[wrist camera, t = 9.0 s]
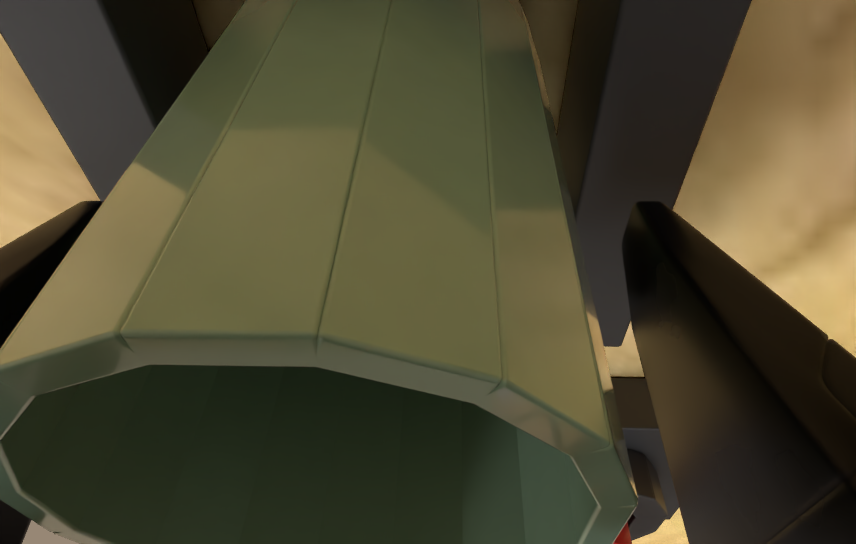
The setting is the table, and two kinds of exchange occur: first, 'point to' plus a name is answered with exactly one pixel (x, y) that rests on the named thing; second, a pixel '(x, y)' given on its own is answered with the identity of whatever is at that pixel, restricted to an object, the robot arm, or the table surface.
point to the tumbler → (328, 305)
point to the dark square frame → (577, 132)
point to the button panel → (644, 457)
